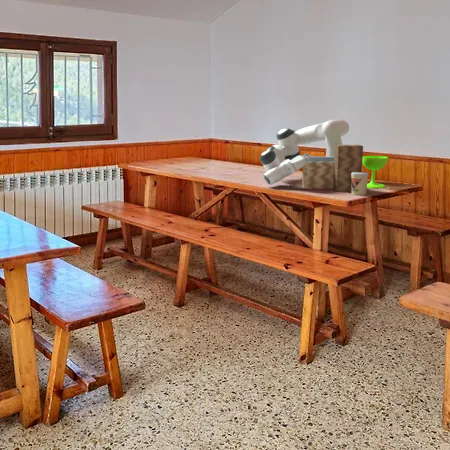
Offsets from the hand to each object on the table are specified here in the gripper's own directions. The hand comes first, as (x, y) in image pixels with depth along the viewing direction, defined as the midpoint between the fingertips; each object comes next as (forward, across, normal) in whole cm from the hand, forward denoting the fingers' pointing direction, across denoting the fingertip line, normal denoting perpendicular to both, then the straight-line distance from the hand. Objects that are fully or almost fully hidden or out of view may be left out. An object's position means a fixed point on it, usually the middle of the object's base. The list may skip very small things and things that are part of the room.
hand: (310, 155), depth 356 cm
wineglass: (+24, -3, -37) cm, 44 cm away
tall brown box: (+8, +11, -27) cm, 30 cm away
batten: (+3, 0, -6) cm, 7 cm away
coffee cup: (+11, +26, -29) cm, 40 cm away
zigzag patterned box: (-2, 0, -21) cm, 21 cm away
